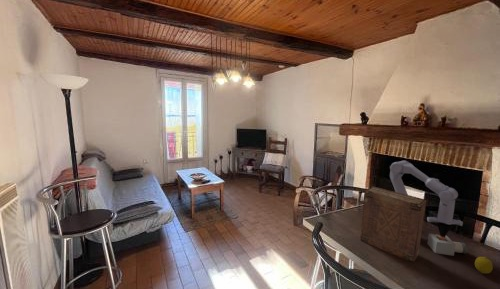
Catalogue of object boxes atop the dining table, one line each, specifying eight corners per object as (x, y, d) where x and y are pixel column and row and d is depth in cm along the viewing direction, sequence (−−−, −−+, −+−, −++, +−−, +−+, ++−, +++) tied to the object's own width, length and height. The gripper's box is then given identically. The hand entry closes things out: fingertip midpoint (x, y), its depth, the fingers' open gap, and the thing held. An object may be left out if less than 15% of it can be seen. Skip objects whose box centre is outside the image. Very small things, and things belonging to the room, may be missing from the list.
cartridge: (436, 251, 115) (437, 242, 114) (431, 245, 120) (432, 237, 119) (466, 255, 111) (468, 246, 111) (460, 249, 116) (461, 240, 115)
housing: (435, 253, 114) (436, 241, 113) (427, 243, 121) (428, 233, 120) (453, 255, 112) (455, 244, 111) (444, 246, 119) (446, 235, 118)
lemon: (469, 269, 102) (472, 253, 101) (480, 268, 103) (483, 252, 102) (483, 278, 97) (486, 261, 96) (494, 277, 97) (498, 261, 96)
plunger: (439, 239, 114) (440, 237, 114) (436, 236, 117) (437, 234, 117) (446, 240, 114) (447, 238, 113) (443, 237, 117) (443, 234, 116)
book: (359, 240, 125) (364, 189, 120) (366, 234, 131) (371, 185, 126) (413, 263, 106) (421, 204, 101) (418, 255, 112) (426, 199, 107)
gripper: (433, 213, 111) (429, 238, 113) (468, 216, 107) (464, 242, 109) (426, 207, 118) (423, 230, 120) (459, 210, 114) (455, 234, 116)
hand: (442, 235), depth 115 cm, fingers closed
